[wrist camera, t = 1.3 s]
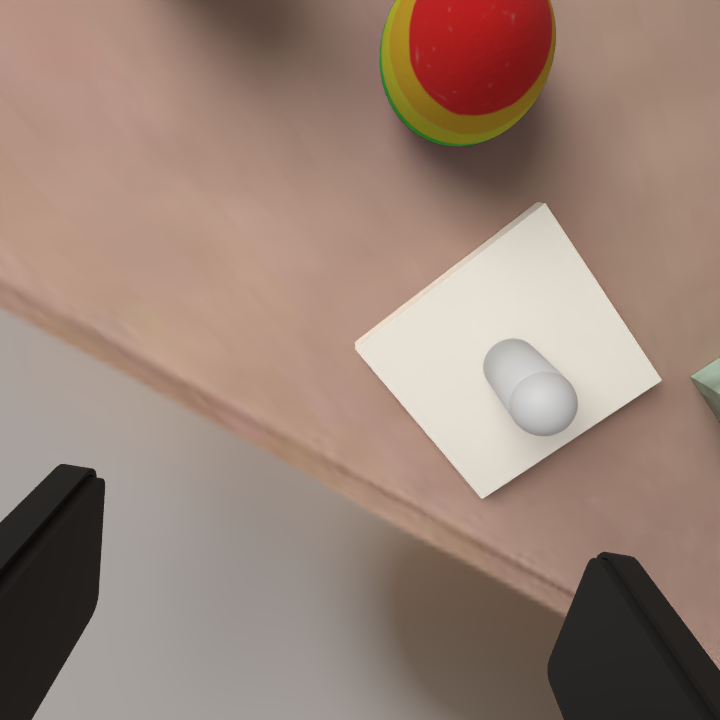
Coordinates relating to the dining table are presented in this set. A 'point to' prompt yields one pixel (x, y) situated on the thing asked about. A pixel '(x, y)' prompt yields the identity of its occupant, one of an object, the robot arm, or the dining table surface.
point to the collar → (710, 385)
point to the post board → (498, 309)
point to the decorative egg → (465, 65)
